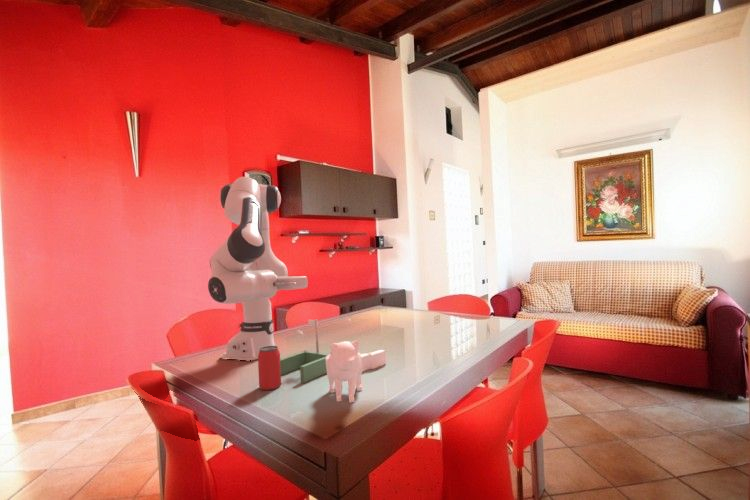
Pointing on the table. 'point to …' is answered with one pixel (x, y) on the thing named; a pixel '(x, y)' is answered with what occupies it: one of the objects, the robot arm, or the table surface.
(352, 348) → the cat figurine
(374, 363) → the napkin holder
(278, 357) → the beer can
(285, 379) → the table surface
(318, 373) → the green low-walled tray
